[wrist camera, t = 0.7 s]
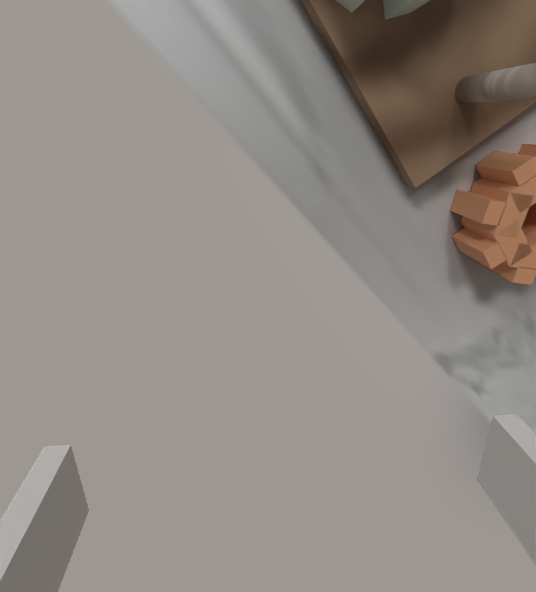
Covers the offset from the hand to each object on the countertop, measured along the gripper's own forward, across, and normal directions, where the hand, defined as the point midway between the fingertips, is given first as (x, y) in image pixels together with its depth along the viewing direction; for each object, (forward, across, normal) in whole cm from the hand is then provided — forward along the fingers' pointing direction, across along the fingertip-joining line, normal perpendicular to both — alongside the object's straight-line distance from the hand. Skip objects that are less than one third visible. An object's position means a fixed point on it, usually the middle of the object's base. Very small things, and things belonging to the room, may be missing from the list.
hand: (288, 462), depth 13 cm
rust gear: (+25, +23, +3) cm, 34 cm away
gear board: (+24, +13, +17) cm, 32 cm away
